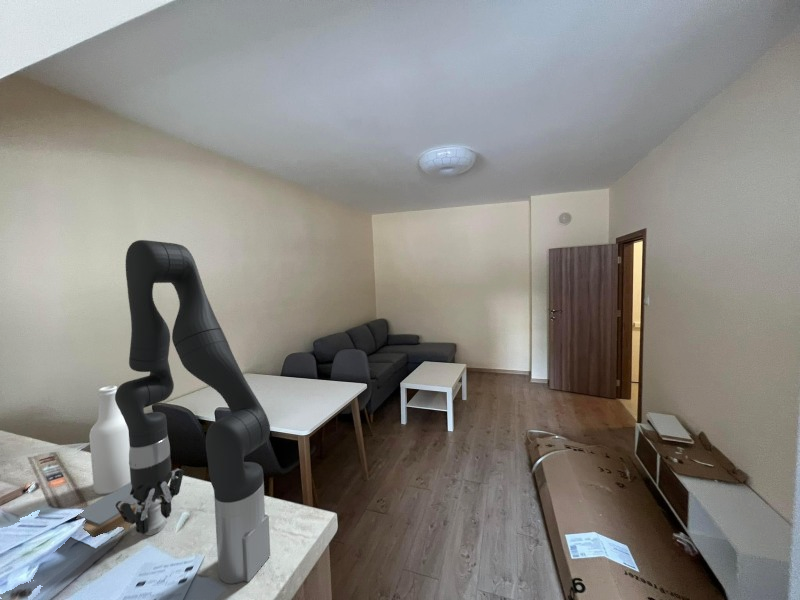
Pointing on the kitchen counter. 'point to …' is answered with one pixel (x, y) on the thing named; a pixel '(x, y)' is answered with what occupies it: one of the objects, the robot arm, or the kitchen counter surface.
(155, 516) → the rook chess piece
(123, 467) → the alcohol
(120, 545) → the kitchen counter surface
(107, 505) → the slate mat
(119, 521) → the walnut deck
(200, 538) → the kitchen counter surface
